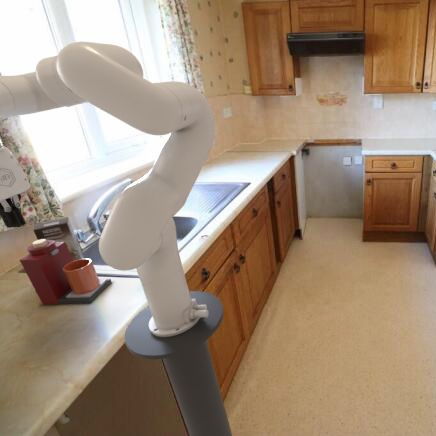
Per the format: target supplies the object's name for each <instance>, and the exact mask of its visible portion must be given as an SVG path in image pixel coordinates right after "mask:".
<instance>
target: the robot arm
mask: <svg viewBox="0 0 436 436" xmlns="http://www.w3.org/2000/svg"><path fill="white" fill-rule="evenodd" d="M83 104H84V105H85V104H91V105H92V106H94V107H96V108H98V109H99V110H101V111H103V112H104V113H107V114H109V115H110V116H112V117H114V118H116V119H117V120H119V121H120V122H123V123H124V124H126V125H129V126H130V127H131V128H133V129H135V130H137V131H139V132H141V133H145V134H147V135H150V136H151V135H152V136H166V135H168V136H167V137H166V139H165V141H164V142H163V144H162V145H161V147H160V149H159V151H158V154H157V157H156V159H155V161H154V163H153V165H152V166H151V168H150V170H149V171H148V173H146V174H145V175H144V176H143V177H141V178H139V179H138V180H136V181H134V182H132V183H131V184H129V185H128V186H127V187H125V188H124V189H123V190H122V191H121V192H120V193H119V195H118V196H117V198H116V199H115V201H114V203H113V205H112V207H111V210H110V212H109V214H108V217H107V219H106V222H105V224H104V226H103V229H102V231H101V233H100V236H99V240H98V251H99V252H98V253H99V254H100V257H101V259H102V260H103V262H104V263H105V264H107V265H108V267H110V268H111V269H114V270H118V271H133V270H136V273H137V275H138V278H139V281H140V284H141V287H142V290H143V292H144V295H145V299H146V302H147V305H148V306H149V307H150V310H151V313H152V317H151V319H150V321H149V329H150V331H151V333H152V334H153V335H155V336H159V337H171V336H175V335H178V334H181V333H183V332H185V331H187V330H188V329H190V328H191V327H193V326H194V325H195V324H196V323H197V322H198V320H199V319H200V318H207V317H208V314H209V312H208V310H206V309H207V305H198V304H197V303H196V299H191V296H190V293H189V291H190V289H189V286H188V283H187V279H186V275H185V274H186V273H185V272H184V267H183V263H182V260H181V255H180V251H179V246H178V236H177V227H176V222H175V220H174V218H173V217H175V215H177V213H179V212H180V211H181V210H182V208H184V206H185V204H186V202H187V200H188V197H190V193H191V191H192V190H193V188H194V185H195V184H196V182H197V180H198V178H199V175H200V174H201V171H202V169H203V167H204V165H205V164H206V161H207V159H208V157H209V154H210V152H211V150H212V147H213V145H214V141H215V137H216V136H215V135H216V120H215V119H216V118H215V116H214V112H213V110H212V107H211V105H210V102H209V101H208V99H207V98H206V97H205V95H204V94H203V93H202V92H201V91H200V90H199V89H198V88H196V87H195V86H193V85H191V84H189V83H186V82H184V81H183V82H182V81H162V82H160V81H159V82H151V81H149V80H148V79H146V78H144V69H143V67H142V64H141V62H140V60H139V59H138V58H137V57H136V56H135V55H134V54H133V53H132V52H131V51H129V50H128V49H126V48H124V47H122V46H119V45H117V44H116V45H115V44H109V43H99V42H91V41H75V42H71V43H69V44H67V45H65V46H63V48H61V49H60V50H59V52H58V54H57V55H54V56H48V57H44V58H41V59H40V60H39V61H38V62H37V64H36V67H35V71H32V72H28V73H23V74H17V75H0V119H6V118H10V117H15V116H24V115H31V114H37V113H41V112H46V111H51V110H55V109H60V108H64V107H66V108H70V107H75V106H80V105H83ZM30 188H31V185H30V181H29V179H28V177H27V175H26V173H25V172H24V170H23V167H22V166H21V165H20V162H19V161H18V159H17V158H16V156H15V155H14V153H12V151H11V150H10V149H9V148H8V147H7V146H4V145H3V143H2V141H1V140H0V217H1V219H2V221H3V223H4V225H5V227H6V228H8V229H9V228H21V227H22V226H24V225H26V224H27V223H26V220H25V218H24V216H23V214H22V212H21V209H20V208H21V205H22V204H21V199H22V197H24V196H25V195H26V194H28V191H29V189H30Z"/></svg>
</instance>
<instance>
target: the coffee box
mask: <svg viewBox="0 0 436 436" xmlns="http://www.w3.org/2000/svg"><path fill="white" fill-rule="evenodd" d="M33 233H34V235H35V237H36V239H37V240H40V239H46V240H53V241H54V242H66V245H67V247H68V249H69V251H70V254H71V256H72V258H73V261H75V260H79V259H85V257H84V254H83V251H82V249H81V247H80V246H81V245H80V243H79V241H78V238H77V237H76V233H75V231H74V228H73V226H72V224H71V221H70V219H69V217H67V216H66V217H62V218H61V217H60V218H55V219H51V220H46V221H45V220H44V221H40V222H35V224H34V226H33Z"/></svg>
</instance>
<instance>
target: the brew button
mask: <svg viewBox="0 0 436 436" xmlns="http://www.w3.org/2000/svg"><path fill="white" fill-rule="evenodd" d="M32 244H33V246H34V248H40V247H43V246H46V245H48V243H47V241H46V239H40V240H38V239H37V240H34V241H33V242H32ZM32 244H31V245H32Z"/></svg>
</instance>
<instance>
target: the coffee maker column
mask: <svg viewBox="0 0 436 436" xmlns="http://www.w3.org/2000/svg"><path fill="white" fill-rule="evenodd" d="M46 241H47V243H48V245H46V246H43V247H40V248H34V246H33V244H30V245H29V246H27V248H26V250H27V253H28V254H27V255H25V256H24V257H22V258H20V259H19V262H20V264H21V266H22V268H23V269H24V271H25V273H26V276H27V277H28V279H29V281H30V283H31V285H32V287H33V289H34V291H35V293H36V295H37V296H38V298H39V300H40V303H41V304H42V305H43V306H45V305H60V304H59V302H58V300H59V299H60V298H61V297H62V296H63V295H64V294H66V293H67V292H68V291H69V290H70V289H71V286H70V284H69V282H68V280H67V278H66V276H65V274H64V271H63V267H64V266H65V265H67V264H68V263H70V262H73V258H72V256H71V254H70V251H69V249H68V247H67V245H66V242H54V241H53V240H46ZM55 249H58V251H59V252H58V253H57V254H55V255H52V256H51V254H50V252H52V251H53V250H55Z"/></svg>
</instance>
